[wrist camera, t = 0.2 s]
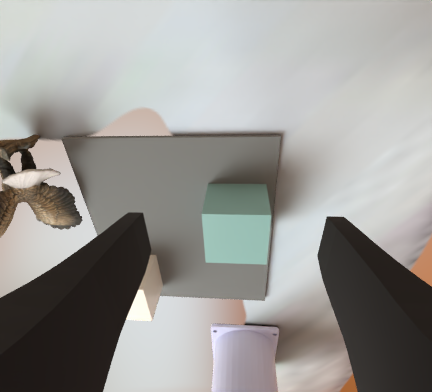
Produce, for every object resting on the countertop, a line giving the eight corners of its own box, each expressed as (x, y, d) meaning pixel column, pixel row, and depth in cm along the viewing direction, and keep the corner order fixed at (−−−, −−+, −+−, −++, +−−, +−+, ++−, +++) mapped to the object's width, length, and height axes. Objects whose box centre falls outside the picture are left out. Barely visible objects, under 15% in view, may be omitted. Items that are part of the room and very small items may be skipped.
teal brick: (262, 229, 22) (266, 264, 19) (210, 228, 23) (205, 262, 19) (266, 184, 20) (271, 215, 17) (208, 183, 20) (201, 214, 17)
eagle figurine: (-58, 127, 19) (-25, 241, 22) (-110, 154, 13) (-53, 303, 16) (71, 129, 23) (81, 225, 26) (77, 150, 17) (90, 271, 20)
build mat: (264, 297, 28) (264, 300, 28) (120, 290, 29) (119, 293, 29) (280, 134, 18) (280, 136, 18) (64, 136, 20) (61, 138, 19)
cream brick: (162, 285, 28) (152, 321, 24) (122, 283, 28) (105, 318, 25) (156, 254, 25) (143, 289, 22) (111, 253, 26) (91, 287, 22)
